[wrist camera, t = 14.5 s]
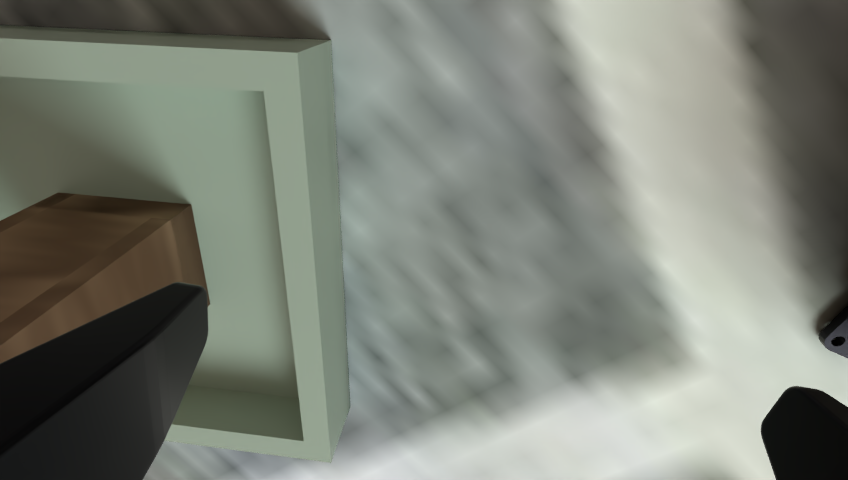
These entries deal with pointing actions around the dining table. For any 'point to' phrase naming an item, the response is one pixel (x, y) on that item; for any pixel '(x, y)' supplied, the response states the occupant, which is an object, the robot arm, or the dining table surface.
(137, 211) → the walnut crate
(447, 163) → the dining table surface
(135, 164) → the green square tray
